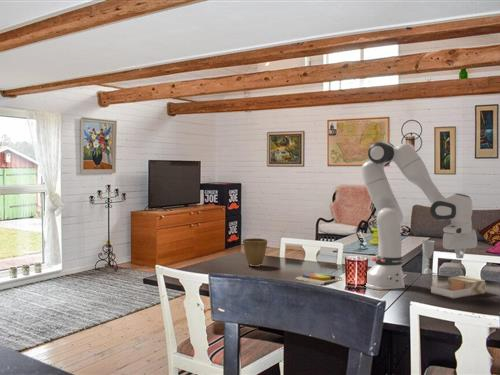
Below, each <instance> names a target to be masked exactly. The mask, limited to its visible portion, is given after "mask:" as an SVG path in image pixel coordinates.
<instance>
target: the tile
mask: <svg viewBox="0 0 500 375" xmlns="http://www.w3.org/2000/svg"><path fill="white" fill-rule="evenodd" d="M463 289H464V282H461V281H456V280H452V281H451V291H457V290H463Z"/></svg>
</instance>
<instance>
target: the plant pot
mask: <svg viewBox="0 0 500 375" xmlns="http://www.w3.org/2000/svg"><path fill="white" fill-rule="evenodd" d="M242 246H243V251H244V254H245V258H246V261H247V264H252V265H259V264H262V265H263V262H264V258H265V255H266V250H267V246H268V239H266V238H255V237H252V238H244V239H242Z"/></svg>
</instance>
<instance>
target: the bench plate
mask: <svg viewBox="0 0 500 375" xmlns="http://www.w3.org/2000/svg"><path fill="white" fill-rule="evenodd" d="M452 280H456V281H461V282H464V289H471V296H476V295H481V294H485V293H486V292H485V291H486V288H485V287H486V280H485V279H480V278H476V277H471V276H468V275H467V276H466V275H458V276H457V275H456V276H450V277H448V282H447V284H450V290H451V281H452Z"/></svg>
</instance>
